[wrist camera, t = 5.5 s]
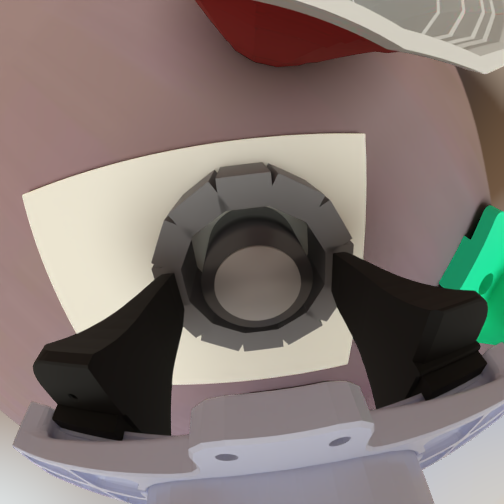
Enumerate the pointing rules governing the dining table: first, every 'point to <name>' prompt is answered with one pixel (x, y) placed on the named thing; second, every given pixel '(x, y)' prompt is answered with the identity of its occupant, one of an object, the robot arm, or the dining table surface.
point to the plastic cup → (362, 29)
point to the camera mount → (482, 271)
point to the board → (196, 241)
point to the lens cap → (255, 268)
